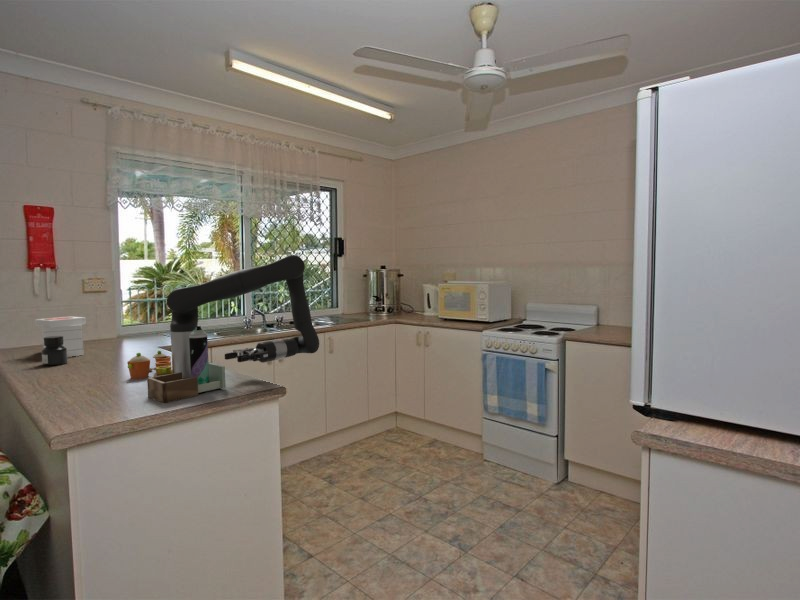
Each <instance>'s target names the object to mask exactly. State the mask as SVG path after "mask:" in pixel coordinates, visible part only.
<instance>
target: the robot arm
mask: <svg viewBox="0 0 800 600" xmlns="http://www.w3.org/2000/svg"><path fill="white" fill-rule="evenodd" d="M305 269H306V265H305V262H304V260H303V259H302V258H301V257H300V256H298V255H295V254H289V255H287V256H285V257H282V258H281V259H278V260H275V261H274V262H270V263H268V264H264V265H259V266H251V267H248V268H244V269H239V270H235V271H232V272H229V273H226V274H223V275H220V276H218V277H216V278H213V279H211V280H209V281H205V282H203V283H200V284H196V285H193V286H191V285H190V286H187V287H179V288H175V289H173V290H172V291H171V292H169V293H168V295H167V297H166V305H167V307H168V308H169V309H170V310H171V322H170V325H169V327H170V330H169V331H170V344H171V345H170V348H171V370H172V372H173V373H179V372H182V379H186V378H191V367H190V345H189V336H190V335H189V334H190V333H192V332H193V330H194V329H195V326H198V323H199V307H200V306H203V305H205V304H208V303H213V302H218V301H223V300H227V299H231V298H236V297H239V296H243V295H245V294H249V293H252V292H254V291H257V290H259V289H261V288H265V287H266V286H268V285H271V284H275V283H278V282H282V281H285V282H286V285H287V289H288V292H289V301H290V309H291V315H292V321H293V326H294V329H295V330H296V331H298V332H299V333H300V334H301V335H298V336H294V337H291V338H284V339H273V340H267V341H259V342H258V343H257V344H256V346H255V348H254V347H246V348H241V349H240V348H239V349H234V350H232V352H225V353H224V360H226V361H227V360H233V359H237V363H243V362H260V363H267V362H272V361H273V362H274V361H278V360H282V359H287V358H289V357H290V358H291V357H294V356H295V355H297V354H315V353H317V352H318V350H319V347H320V339H319V336H318V333H317V332H316V328H315V327H314V324H313V321H312V315H311V310H310V306H309V302H308V298H307V293H306V290H305V282H304V272H305Z"/></svg>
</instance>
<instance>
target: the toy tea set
mask: <svg viewBox="0 0 800 600" xmlns="http://www.w3.org/2000/svg"><path fill="white" fill-rule="evenodd" d="M152 358H153V359H155V363H154V364H155V365H154V366H155V368H152V367H151V359H150V358H149V357H147V356H145V355H142V354H141V352H137V353H136V356H133V357H132V358H130V359H129V360H128V361H127V363H126V364H127V369H128V372H129V376H130V379H131V380H141V379H140V378H143V379H146V377H147V378H149V376H150V375H149V374H150V372H151V371H153V369H154V370H155V373H154V374H153V377H156V376H162V375H167V374H173V372H172V355H171V356H170V355H166V354H164V353H163V352H162V351H161V350H158V351H157V353H156V354H154V355H153V356H152Z"/></svg>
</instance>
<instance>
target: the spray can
mask: <svg viewBox="0 0 800 600" xmlns="http://www.w3.org/2000/svg"><path fill="white" fill-rule="evenodd" d="M207 333H208V332H206V331H204V329H202V327H201V325H199V326H198V325H197V326H195V329H194V330H193V332H192V333H190V334H189V335H190V336H189V345H190V367H191V377H190V378H192V377H197V378H198V385H200V384H205V383H209V364H208V362H209V346H208V345H209V344H208V334H207Z"/></svg>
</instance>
